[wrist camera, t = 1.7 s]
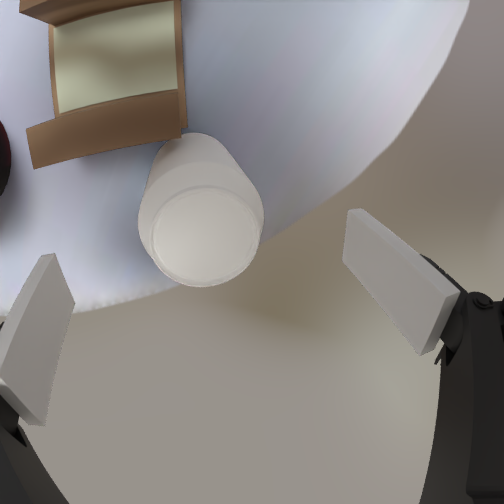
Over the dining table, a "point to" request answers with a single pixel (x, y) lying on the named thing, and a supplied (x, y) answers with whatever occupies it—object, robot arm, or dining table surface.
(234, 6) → the dining table surface
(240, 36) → the dining table surface
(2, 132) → the mug
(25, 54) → the dining table surface
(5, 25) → the dining table surface
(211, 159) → the beverage can
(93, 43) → the post bracket
